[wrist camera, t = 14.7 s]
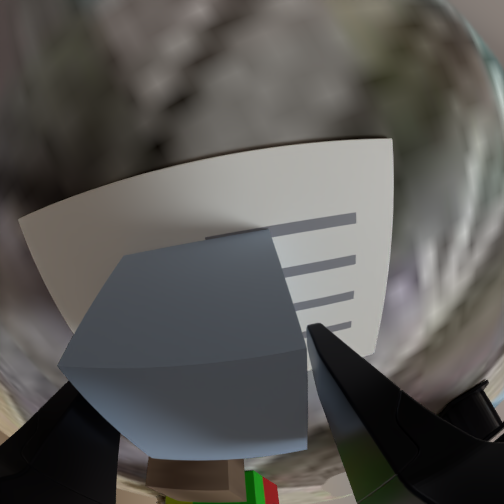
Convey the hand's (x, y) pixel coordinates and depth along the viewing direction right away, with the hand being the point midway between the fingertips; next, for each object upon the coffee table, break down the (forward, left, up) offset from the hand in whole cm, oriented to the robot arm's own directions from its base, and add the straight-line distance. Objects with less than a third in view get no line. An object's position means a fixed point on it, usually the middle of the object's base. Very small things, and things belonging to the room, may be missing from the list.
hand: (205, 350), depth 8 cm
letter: (0, 0, -2) cm, 2 cm away
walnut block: (+4, +12, -3) cm, 13 cm away
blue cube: (0, 0, -2) cm, 2 cm away
